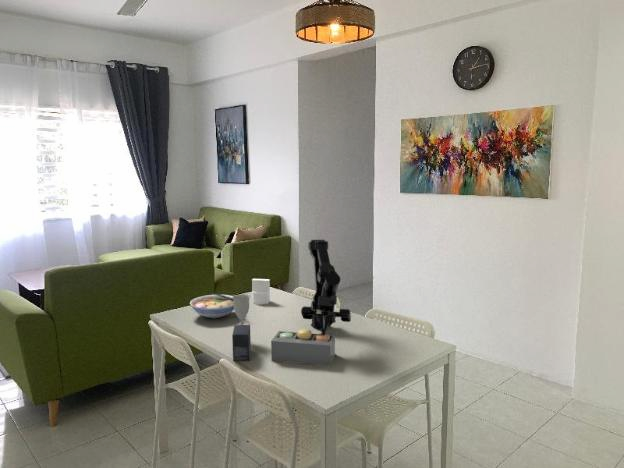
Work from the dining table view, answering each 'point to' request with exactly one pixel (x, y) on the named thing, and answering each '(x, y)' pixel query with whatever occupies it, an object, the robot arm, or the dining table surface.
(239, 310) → the chalice
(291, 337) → the button sage
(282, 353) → the grey compartment box
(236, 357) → the small box
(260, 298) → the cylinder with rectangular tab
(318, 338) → the button terracotta
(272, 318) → the dining table surface
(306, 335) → the button ochre
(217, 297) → the ramen bowl
